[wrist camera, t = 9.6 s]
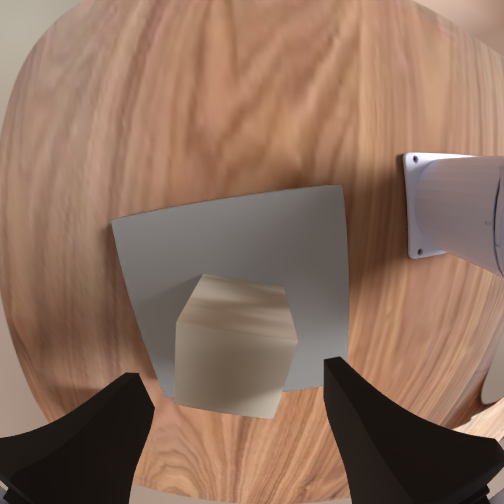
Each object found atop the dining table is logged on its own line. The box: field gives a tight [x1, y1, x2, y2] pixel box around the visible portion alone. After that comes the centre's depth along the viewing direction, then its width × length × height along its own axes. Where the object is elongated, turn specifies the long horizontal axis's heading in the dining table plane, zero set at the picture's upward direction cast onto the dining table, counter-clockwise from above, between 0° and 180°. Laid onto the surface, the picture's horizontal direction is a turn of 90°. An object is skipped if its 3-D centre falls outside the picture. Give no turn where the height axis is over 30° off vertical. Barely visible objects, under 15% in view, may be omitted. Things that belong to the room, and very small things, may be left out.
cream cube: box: [175, 274, 298, 419], centre depth 14 cm, size 5×5×6 cm
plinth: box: [111, 185, 349, 398], centre depth 18 cm, size 14×14×3 cm
